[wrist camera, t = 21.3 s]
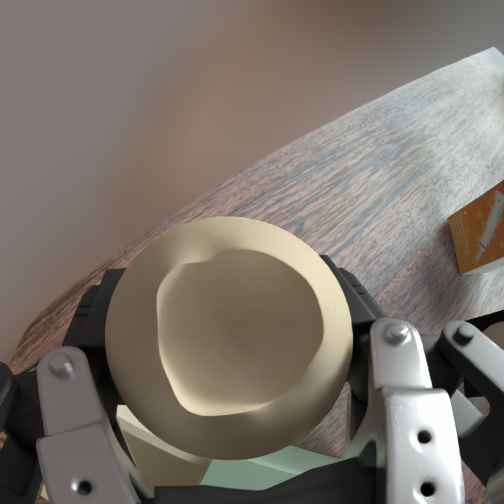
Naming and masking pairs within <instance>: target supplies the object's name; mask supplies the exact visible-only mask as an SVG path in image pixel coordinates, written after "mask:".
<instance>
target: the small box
mask: <svg viewBox="0 0 504 504" xmlns="http://www.w3.org/2000/svg"><path fill="white" fill-rule="evenodd" d="M447 221H448V224H449V227H450V231H451V235H452V240H453V244H454V249H455V253H456V258H457V264H458V271H459V275H468V274H479V273H487V272H490V271H492V270H495V269H498V268H500V267H503V266H504V180H503V181H501V182H500V183H499V184H497V185H496V186H494V187H493V188H491V189H490V190H488V191H487V192H485V193H484V194H483V195H481V196H480V197H478V198H477V199H475V200H474V201H472V202H471V203H469V204H468V205H466V206H465V207H463V208H462V209H460V210H459V211H457V212H456V213H454V214H453V215H451V216H450V217H448V218H447Z"/></svg>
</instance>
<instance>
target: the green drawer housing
mask: <svg viewBox="0 0 504 504" xmlns="http://www.w3.org/2000/svg"><path fill="white" fill-rule="evenodd" d="M339 461H341V459H339V458H335V457H331V456H327V455H323V454H319V453H316V452H312V451H308V450H305V449H301V448H298V447H295V446H291V445H290V446H288V447H286V448H284V449H282V450H280V451H277V452H274V453H271V454H268V455H265V456H261V457H257V458H252V459H245V460H215V459H210V461H209V463H208V465H207V467H206V468H205V470H204V472H203V474H202V476H201V478H200V480H199V482H198V484H197V485H210V486H218V487H226V488H235V489H246V490H264V489H267V488H270V487H272V486H274V485H277V484H279V483H281V482H284V481H286V480H288V479H290V478H293V477H295V476H297V475H299V474H301V473H303V472H305V471H307V470H309V469H312V468H316V467H320V466H324V465H328V464H332V463H335V462H339Z"/></svg>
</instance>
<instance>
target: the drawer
mask: <svg viewBox="0 0 504 504" xmlns="http://www.w3.org/2000/svg"><path fill="white" fill-rule="evenodd" d="M116 417H117V419H118V421H119V424H120V426H121V429H122V431H123V433H124V436H125V438H126V441H127V443H128V445H129V447H130V450H131V452H132V454H133V456H134V458H135V461H136V463H137V465H138V467H139V469H140V471H141V473H142V475H143V477H144V478H145V480H146V482H147V483H148V485H149V486H150V488H151V490H152V491H153V493H154V486H191V485H197V484H198V482H199V480H200V478H201V476H202V474H203V472H204V470H205V468H206V467H207V465H208V463H209V461H210V459H209V458H204V457H199V456H196V455H193V454H190V453H187V452H184V451H181V450H179V449H177V448H175V447H173V446H171V445H169V444H167V443H166V442H164V441H163V440H161V439H160V438H158V437H157V436H155V435H154V434H152V433H151V432H150V431H149V430H148V429H147V428H146V427H145V426H143V425H142V424H141V423H140V422H139V421H138V420H137V418H136V417H135V416H134V415H133V414H132V412H131V411H130V410H129V409H128V407H127V406H126V405H118V407H117V415H116ZM41 496H42V497H44V498H45V499H47V500H48V501H49V499H48V496H47V492H46V489H45V485H44V484H43V488H42V491H41Z"/></svg>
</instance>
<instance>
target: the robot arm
mask: <svg viewBox="0 0 504 504" xmlns="http://www.w3.org/2000/svg"><path fill="white" fill-rule="evenodd" d="M319 256H320V258H321V259H322V260H323V261H324V262H325V263H326V264H327V266H328V267H329V269H330V270H331V271H332V273H333V274H334V276H335V277H336V279H337V281H338V283H339V285H340V287H341V289H342V291H343V293H344V296H345V299H346V301H347V304H348V307H349V312H350V316H351V324H352V331H353V351H352V358H351V364H350V369H349V372H348V375H347V379H346V382H347V381H348V383H349V385H350V390H349V393H348V399H347V422H346V439H345V448H344V453H343V456H342V459H341V461H339V462H335V463H332V464H328V465H324V466H320V467H316V468H312V469H309V470H307V471H305V472H303V473H301V474H299V475H297V476H295V477H293V478H290V479H288V480H286V481H284V482H281V483H279V484H277V485H274V486H272V487H270V488H267V489H264V490H246V489H235V488H226V487H218V486H210V485H191V486H154V493H153V491H152V490H151V488H150V486H149V485H148V483H147V482H146V480H145V478H144V477H143V475H142V473H141V471H140V469H139V467H138V465H137V463H136V461H135V458H134V456H133V454H132V452H131V450H130V447H129V445H128V443H127V441H126V438H125V436H124V433H123V431H122V429H121V426H120V424H119V421H118V419H117V417H116V415H117V407H118V405H126V404H125V403H124V401H123V399H122V398H121V396H120V394H119V392H118V390H117V388H116V386H115V383H114V381H113V379H112V376H111V372H110V369H109V365H108V362H107V355H106V347H105V326H106V319H107V312H108V309H109V305H110V301H111V298H112V295H113V293H114V291H115V288H116V286H117V284H118V282H119V280H120V278H121V277H122V275H123V273H124V272H125V270H126V268H120V269H107V270H106V271H105V274H104V276H103V278H102V281H101V283H100V285H93V286H92V287H91V288H90V289H88V290H87V291H86V292H85V293H84V294H83V296H82V298H81V300H80V302H79V305H78V308H77V309H76V311H75V314H74V317H73V319H72V321H71V323H70V326H69V328H68V331H67V333H66V336H65V338H64V341H63V343H62V346H61V347H58V348H55V349H53V350H51V351H50V352H48V353H47V354H46V355H44V356H43V358H42V359H41V360H40V362H39V364H38V367H37V370H35V371H31V372H26V373H22V374H17V375H13V373H12V372H11V370H10V369H9V367H8V366H7V365H6V364H5V363H3V362H0V433H1V431H3V432H4V433H5V434H6V435H7V438H6V441H5V443H4V445H3V447H2V449H1V452H0V504H34V502H35V499H36V496H37V493H38V490H39V487H40V484H41V481H42V479H43V481H44V485H45V489H46V492H47V496H48V499H49V503H50V504H473V503H470V502H468V501H465V492H464V481H463V473H462V465H461V459H462V460H463V461H464V462H465V464H466V465H467V466H468V467H469V468H470V469H471V471H472V472H473V473H474V474H475V475H476V476H477V478H478V479H479V480H480V481H481V482H482V483H483V485H484V486H485V487H486V488H487V491H486V492H484V493H483V495H482V498H481V502H482V504H504V351H503V350H502V349H501V348H500V347H499V346H497V345H496V344H495V343H494V342H493V341H492V340H490V339H489V338H488V337H487V336H486V335H484V334H483V333H482V332H481V331H480V330H478V329H477V328H476V327H475V326H473V325H472V324H470V323H468V322H465V321H461V320H452V321H449V322H447V323H446V324H445V325H444V328H443V330H442V332H441V334H440V335H423V334H419V333H418V331H417V330H416V328H415V327H414V326H413V325H411V324H410V323H408V322H407V321H405V320H402V319H399V318H394V317H388V316H387V315H386V314H385V313H384V311H383V310H382V309H381V308H380V306H379V305H378V304H377V303H376V301H375V300H374V299H373V298H372V296H371V295H370V294H369V293H367V290H366V289H365V288H364V287H363V286H361V283H360V282H359V281H358V279H357V278H356V277H355V276H354V275H353V274H351V273H350V272H348V271H346V270H345V269H343V268H337V267H336V265H335V264H334V263H333V262H332V260H331V259H330V258H329V257H328V256H327V255H319ZM464 378H466V379H467V380H468V381H469V382H470V383H471V384H472V385H473V386H474V387H475V388H476V389H477V390H478V391H479V392H480V393H481V394H482V395H483V396H484V397H485V398H486V399H487V400H488V402H489V404H490V413H489V415H488V416H485V415H483V414H482V413H481V412H480V411H479V410H478V409H477V408H476V407H475V406H474V405H473V404H472V403H471V402H470V401H469V400H468V399H467V398H466V397H465V396H464V395H463V394H462V393H461V392H460V391H459V390H458V387H459V386H460V384H461V383H462V381H463V380H464Z"/></svg>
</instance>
